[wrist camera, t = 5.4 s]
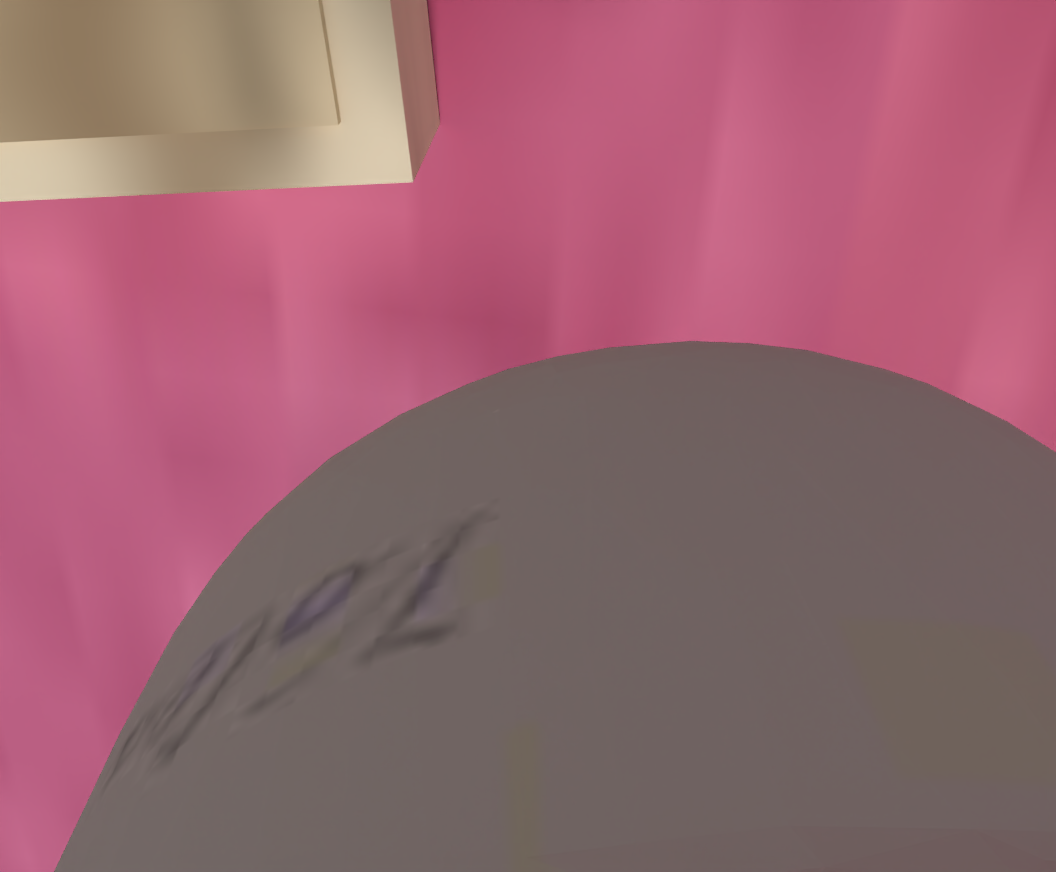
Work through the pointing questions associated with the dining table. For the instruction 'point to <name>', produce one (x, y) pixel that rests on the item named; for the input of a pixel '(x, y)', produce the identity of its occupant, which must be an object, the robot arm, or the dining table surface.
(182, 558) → the dining table surface
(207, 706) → the teacup
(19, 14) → the beige tray
